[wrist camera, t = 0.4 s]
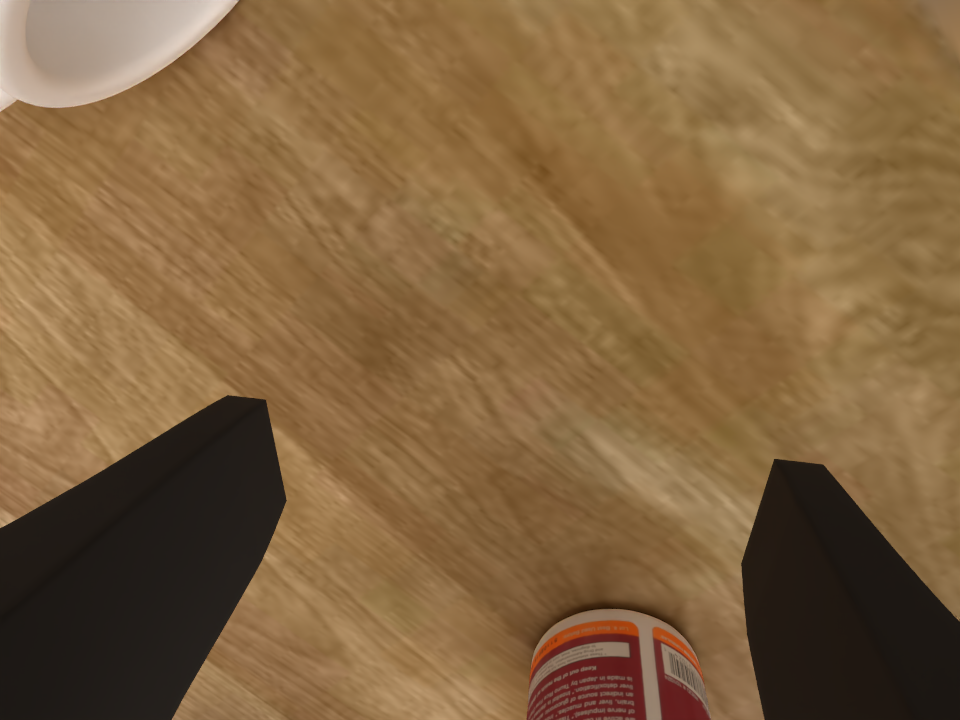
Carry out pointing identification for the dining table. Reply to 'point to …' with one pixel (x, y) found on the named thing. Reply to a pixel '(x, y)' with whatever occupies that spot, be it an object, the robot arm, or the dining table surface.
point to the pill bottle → (615, 670)
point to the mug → (94, 45)
